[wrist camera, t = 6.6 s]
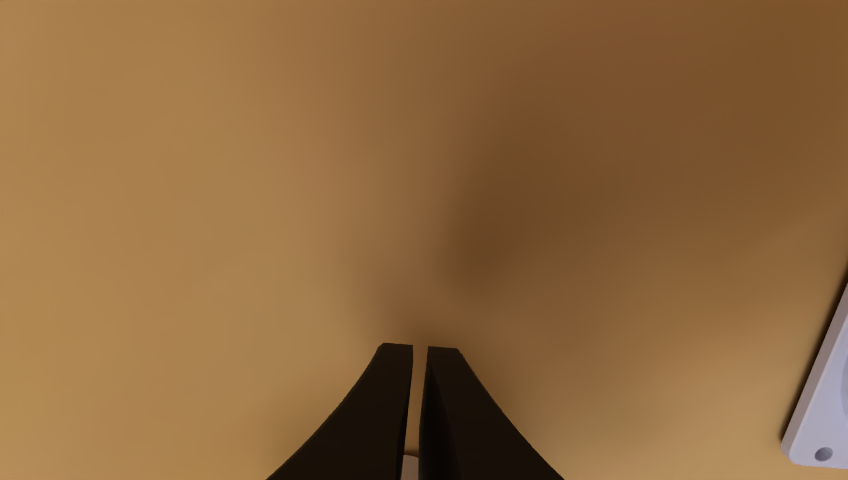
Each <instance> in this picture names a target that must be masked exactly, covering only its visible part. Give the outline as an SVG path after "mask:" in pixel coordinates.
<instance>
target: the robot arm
mask: <svg viewBox="0 0 848 480" xmlns="http://www.w3.org/2000/svg"><path fill="white" fill-rule="evenodd" d="M412 368H413V345H406V344H393V343H383V344H382V345H380V346H379V347H378V348H377V351H376V353H375V355H374V357H373V358H372V360H371V362H370V363H369V365H368V367H367V368H366V370H365V371H364V372H363V374H362V375H361V377H360V378H359V380H358V381H357V382H356V384H355V385H354V386H353V388H352V389H351V390H350V392H349V393H348V394H347V396H346V397H345V398H344V399H343V401H342V402H341V403H340V404H339V406H338V407H337V408H336V409H335V410H334V411H333V412H332V414H331V415H330V416H329V417H328V418H327V419H326V420H325V422H324V423H323V424H322V425H321V426H320V427H319V428H318V430H317V431H316V432H315V433H314V434H313V435H312V436H311V437H310V438H309V439H308V440H307V441H306V442H305V443H304V444H303V445H302V446H301V447H300V448H299V449H298V450H297V451H296V452H295V453H294V454H293V455H292V456H291V457H290V458H289V459H288V460H287V461H286V462H285V463H284V464H283V465H282V466H280V467H279V468H278V469H277V470H276V471H275V472H274V473H273V474H272V475H271V476H269V477H268V478H267V479H266V480H401V475H402V467H403V457H404V447H405V437H406V427H407V417H408V407H409V397H410V388H411V378H412ZM781 450H782V453H783V454H784V455H785V456H787V457H788V458H789V459H790V460H791V461H792V462H793V463H794V464H798V465H805V466H817V467H828V468H840V469H848V284H847V286H846V289H845V291H844V293H843V296H842V298H841V301H840V303H839V305H838V308H837V310H836V313H835V315H834V317H833V320H832V322H831V325H830V327H829V329H828V332H827V334H826V337H825V339H824V341H823V344H822V346H821V349H820V351H819V354H818V356H817V358H816V361H815V363H814V366H813V368H812V370H811V373H810V375H809V378H808V380H807V382H806V385H805V387H804V390H803V392H802V394H801V397H800V399H799V402H798V404H797V407H796V409H795V411H794V414H793V416H792V419H791V421H790V423H789V426H788V428H787V431H786V433H785V435H784V438H783V440H782V443H781ZM418 480H564V479H563V478H562V477H561V476H560V475H559V474H558V473H557V472H556V471H555V470H554V469H553V468H552V467H551V466H550V465H549V464H548V463H547V462H546V461H545V460H544V459H543V458H542V457H541V456H540V455H539V454H538V453H537V452H536V451H535V449H534V448H533V447H532V446H531V445H530V444H529V443H528V442H527V440H526V439H525V438H524V437H523V436H522V435H521V434H520V432H519V431H518V430H517V429H516V428H515V426H514V425H513V424H512V423H511V422H510V420H509V419H508V418H507V417H506V415H505V414H504V413H503V412H502V410H501V409H500V408H499V406H498V405H497V404H496V402H495V401H494V400H493V399H492V397H491V396H490V395H489V393H488V392H487V391H486V389H485V388H484V386H483V385H482V384H481V382H480V381H479V379H478V378H477V376H476V375H475V373H474V372H473V371H472V369H471V368H470V366H469V365H468V363H467V362H466V360H465V358H464V357H463V355H462V354H461V353H460V351H459V350H458V349H457V348H444V347H431V346H428V354H427V363H426V372H425V381H424V390H423V399H422V408H421V417H420V425H419V458H418Z"/></svg>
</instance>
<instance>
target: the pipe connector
mask: <svg viewBox="0 0 848 480" xmlns="http://www.w3.org/2000/svg"><path fill="white" fill-rule="evenodd" d="M401 480H418V458H417V457H414V456H410V455H404V457H403V467H402V475H401Z"/></svg>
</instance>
